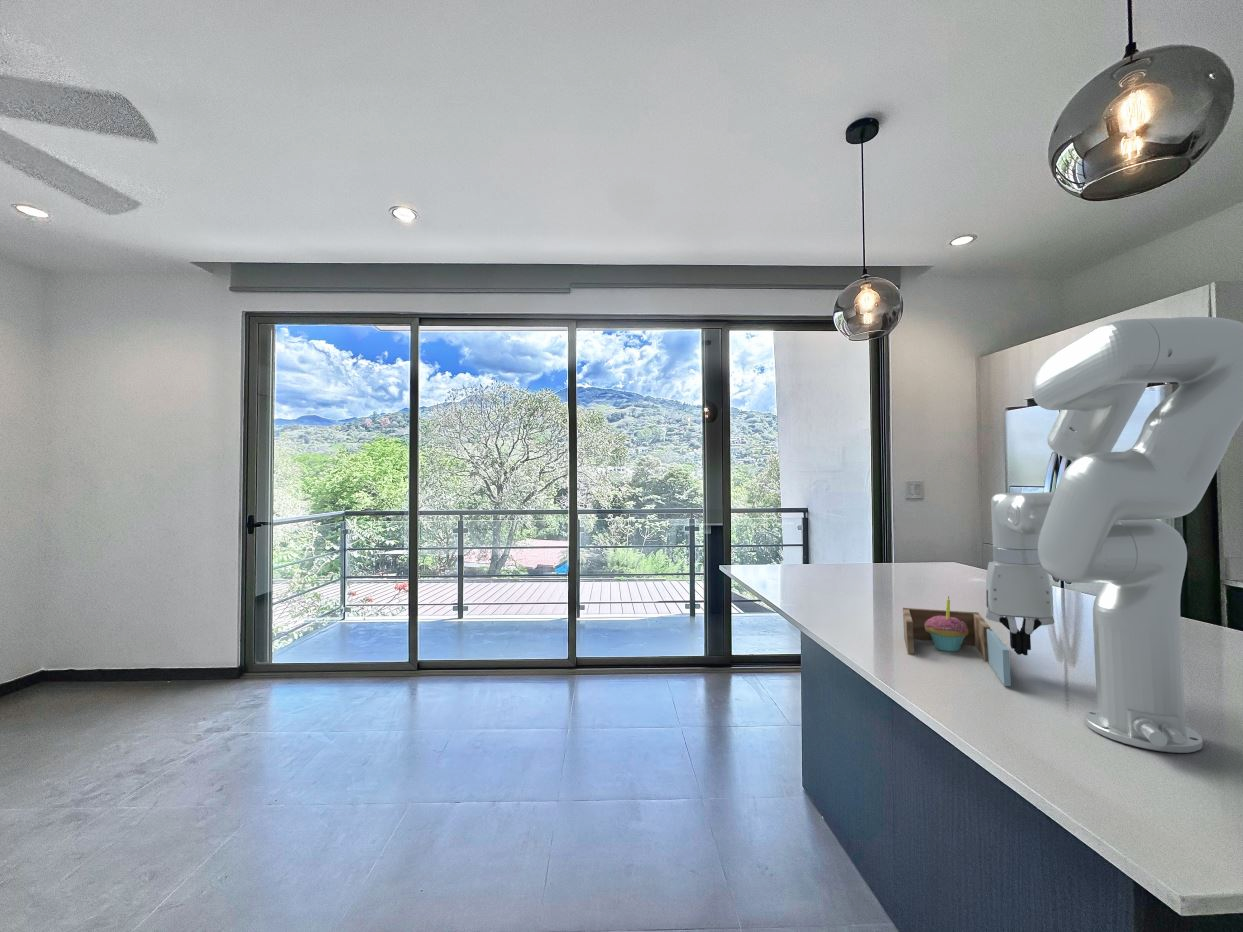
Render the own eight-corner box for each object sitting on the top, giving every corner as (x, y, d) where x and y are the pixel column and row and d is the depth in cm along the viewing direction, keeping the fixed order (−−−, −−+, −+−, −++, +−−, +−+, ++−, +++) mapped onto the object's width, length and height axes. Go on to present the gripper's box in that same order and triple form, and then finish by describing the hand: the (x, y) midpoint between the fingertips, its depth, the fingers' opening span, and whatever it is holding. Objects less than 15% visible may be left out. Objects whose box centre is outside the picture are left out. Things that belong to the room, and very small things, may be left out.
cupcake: (977, 654, 119) (974, 598, 120) (935, 654, 120) (933, 598, 120) (957, 642, 128) (955, 590, 128) (918, 642, 129) (916, 590, 129)
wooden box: (991, 661, 114) (990, 627, 114) (907, 654, 120) (906, 621, 121) (979, 643, 127) (978, 612, 127) (904, 637, 133) (902, 607, 133)
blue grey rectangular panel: (993, 660, 114) (991, 629, 114) (1010, 686, 100) (1009, 650, 100) (987, 660, 114) (986, 628, 114) (1004, 685, 100) (1002, 649, 100)
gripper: (1058, 555, 107) (1063, 651, 107) (968, 553, 113) (972, 643, 113) (1071, 561, 100) (1075, 663, 100) (974, 558, 107) (978, 654, 106)
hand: (1020, 652), depth 106 cm, fingers closed
